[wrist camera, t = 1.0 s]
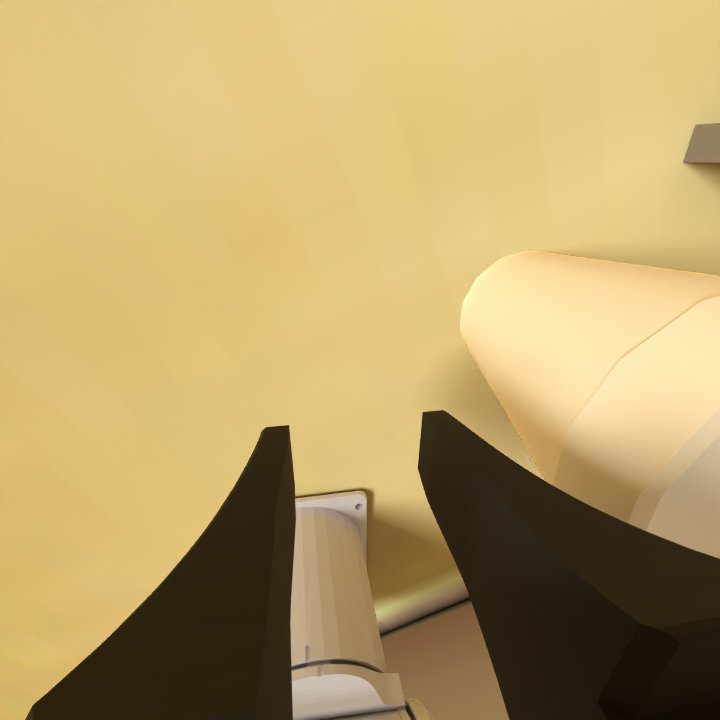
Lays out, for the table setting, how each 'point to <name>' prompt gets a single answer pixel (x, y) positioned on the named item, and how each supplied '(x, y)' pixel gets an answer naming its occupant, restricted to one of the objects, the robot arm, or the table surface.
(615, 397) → the foam cup
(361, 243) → the table surface
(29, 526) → the table surface
